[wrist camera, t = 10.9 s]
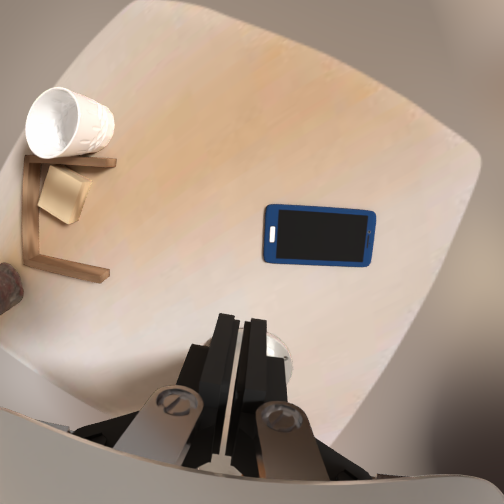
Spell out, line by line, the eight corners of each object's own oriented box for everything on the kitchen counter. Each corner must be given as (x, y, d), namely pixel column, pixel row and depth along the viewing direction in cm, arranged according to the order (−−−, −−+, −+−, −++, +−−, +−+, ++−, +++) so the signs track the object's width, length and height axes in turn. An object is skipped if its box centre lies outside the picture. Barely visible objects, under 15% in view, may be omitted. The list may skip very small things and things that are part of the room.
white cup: (69, 159, 38) (24, 162, 28) (71, 104, 36) (27, 95, 26) (118, 154, 38) (78, 154, 28) (120, 95, 36) (81, 80, 26)
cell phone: (265, 203, 39) (265, 203, 39) (375, 210, 39) (377, 211, 38) (263, 261, 41) (262, 263, 40) (369, 266, 41) (370, 267, 40)
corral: (109, 276, 42) (100, 283, 39) (35, 259, 42) (23, 265, 39) (116, 158, 38) (106, 159, 35) (37, 154, 38) (24, 155, 35)
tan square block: (79, 220, 41) (68, 224, 38) (49, 202, 40) (37, 205, 37) (93, 180, 39) (82, 182, 36) (62, 163, 39) (50, 164, 36)
